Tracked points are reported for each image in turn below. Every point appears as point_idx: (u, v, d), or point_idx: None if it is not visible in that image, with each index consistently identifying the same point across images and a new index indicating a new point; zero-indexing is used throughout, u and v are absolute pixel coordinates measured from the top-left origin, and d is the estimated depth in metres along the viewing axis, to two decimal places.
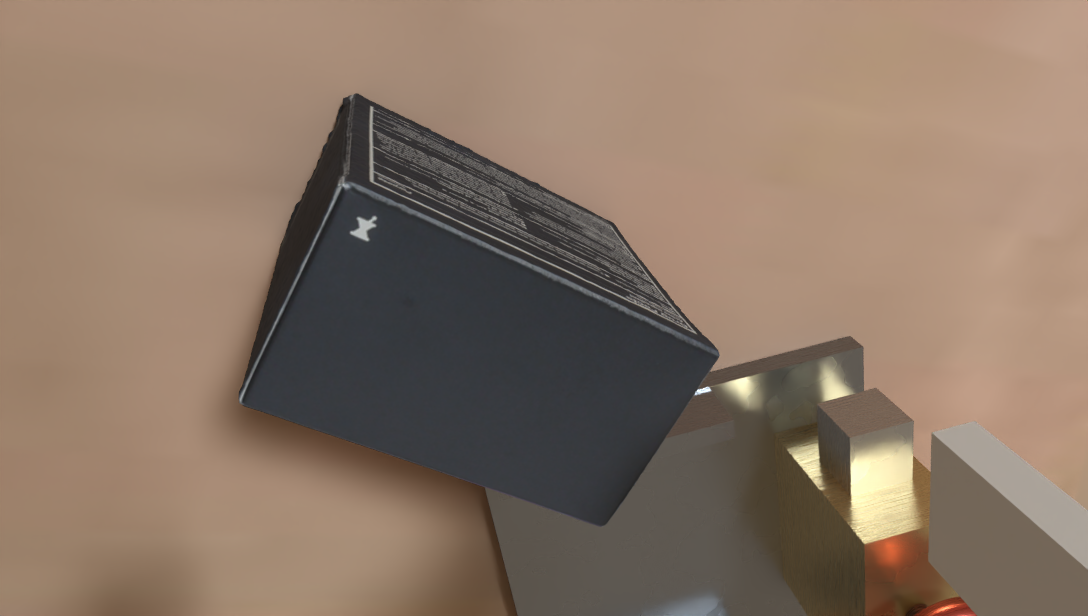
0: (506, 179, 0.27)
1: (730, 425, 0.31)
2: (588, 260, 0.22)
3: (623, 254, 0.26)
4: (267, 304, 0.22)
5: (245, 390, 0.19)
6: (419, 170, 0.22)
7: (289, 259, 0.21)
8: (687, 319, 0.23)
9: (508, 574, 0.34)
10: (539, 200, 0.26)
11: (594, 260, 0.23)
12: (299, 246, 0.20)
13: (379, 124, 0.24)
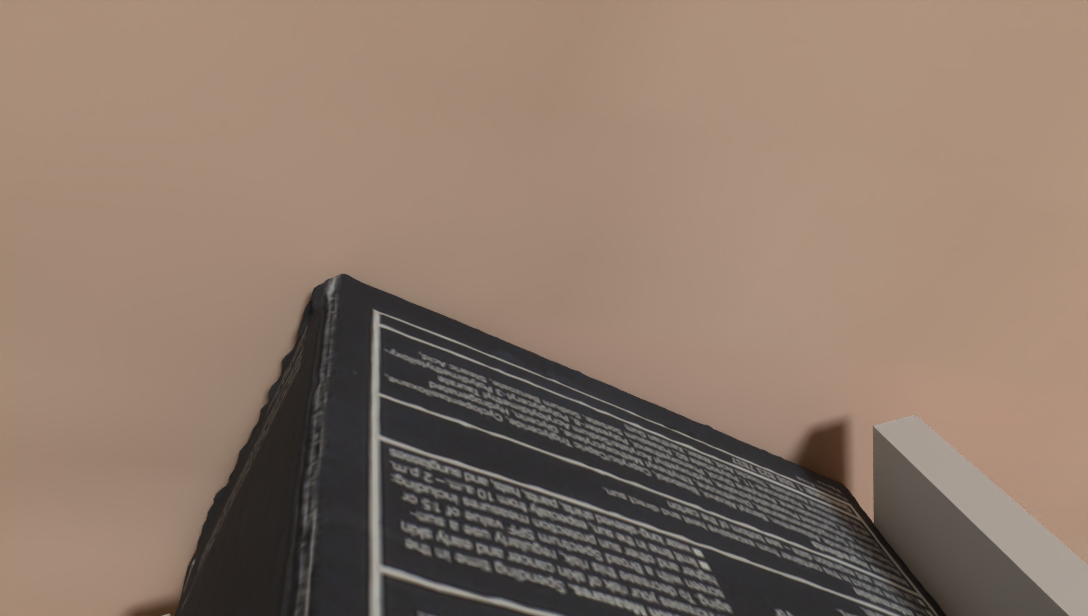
0: (672, 462, 0.12)
1: None
2: None
3: None
4: None
5: None
6: None
7: None
8: None
9: None
10: (748, 514, 0.12)
11: None
12: None
13: (396, 390, 0.10)
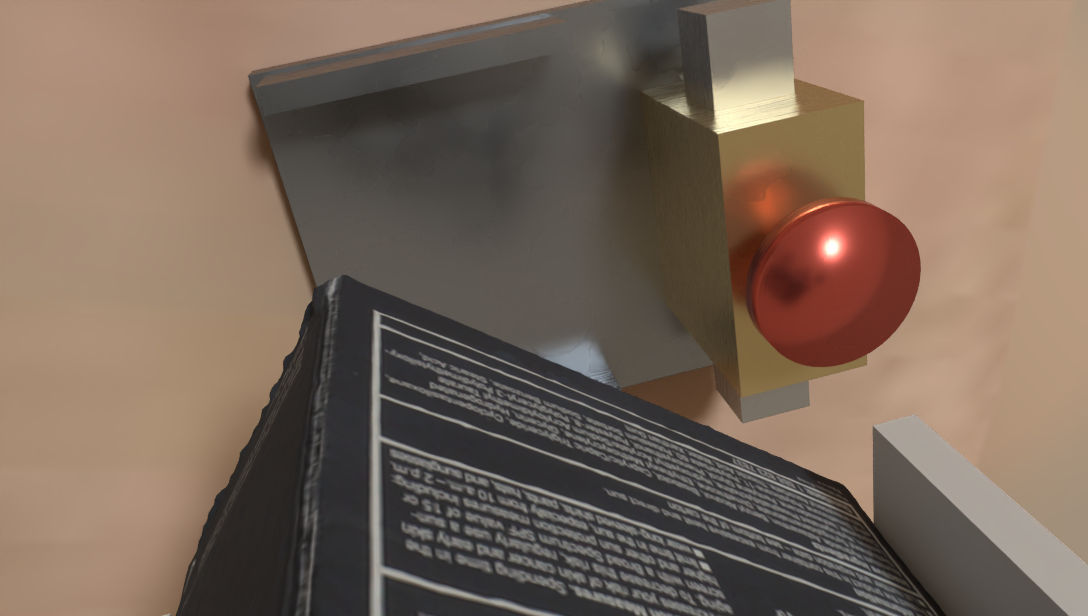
0: (673, 463, 0.12)
1: (563, 29, 0.24)
2: None
3: None
4: None
5: None
6: None
7: None
8: None
9: (312, 269, 0.28)
10: (749, 514, 0.12)
11: None
12: None
13: (396, 391, 0.10)
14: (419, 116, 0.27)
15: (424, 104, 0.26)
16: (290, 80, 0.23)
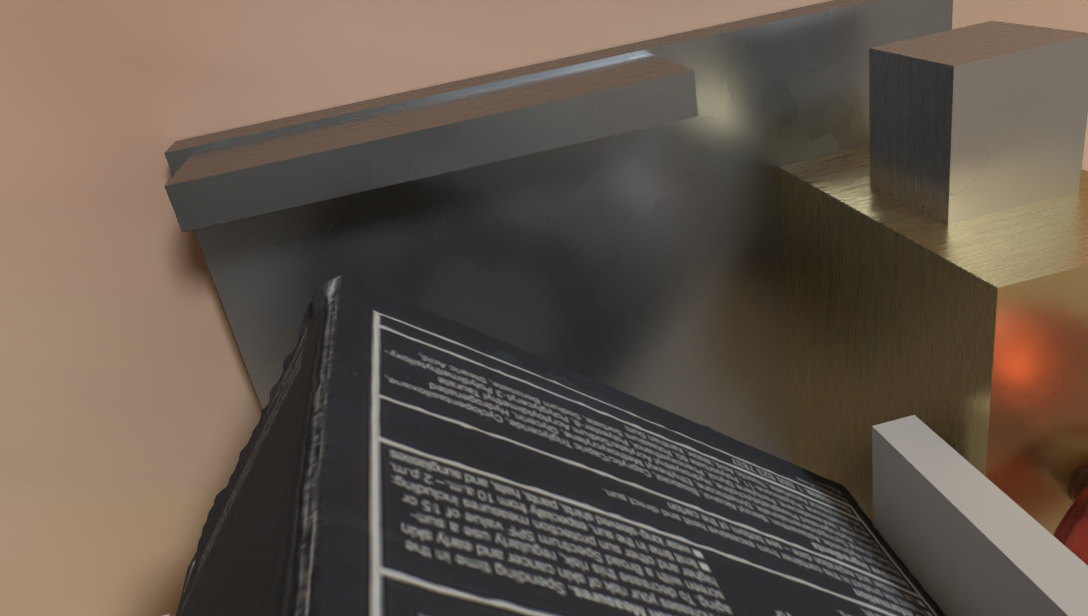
0: (672, 463, 0.12)
1: (686, 83, 0.14)
2: None
3: None
4: None
5: None
6: None
7: None
8: None
9: None
10: (748, 515, 0.12)
11: None
12: None
13: (395, 392, 0.10)
14: (440, 210, 0.17)
15: (448, 191, 0.17)
16: (226, 173, 0.14)
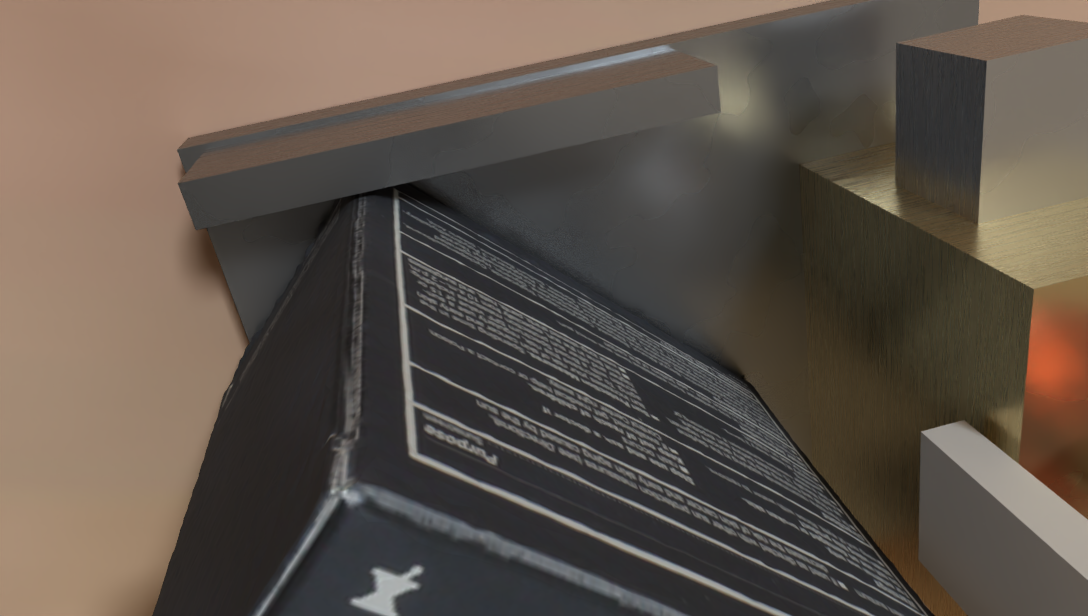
0: (612, 327, 0.16)
1: (709, 78, 0.14)
2: (799, 542, 0.12)
3: (805, 475, 0.15)
4: (167, 591, 0.11)
5: None
6: (493, 356, 0.11)
7: (213, 532, 0.10)
8: None
9: None
10: (666, 368, 0.16)
11: (803, 534, 0.12)
12: (231, 541, 0.09)
13: (411, 233, 0.13)
14: (456, 209, 0.17)
15: (464, 189, 0.16)
16: (240, 170, 0.13)
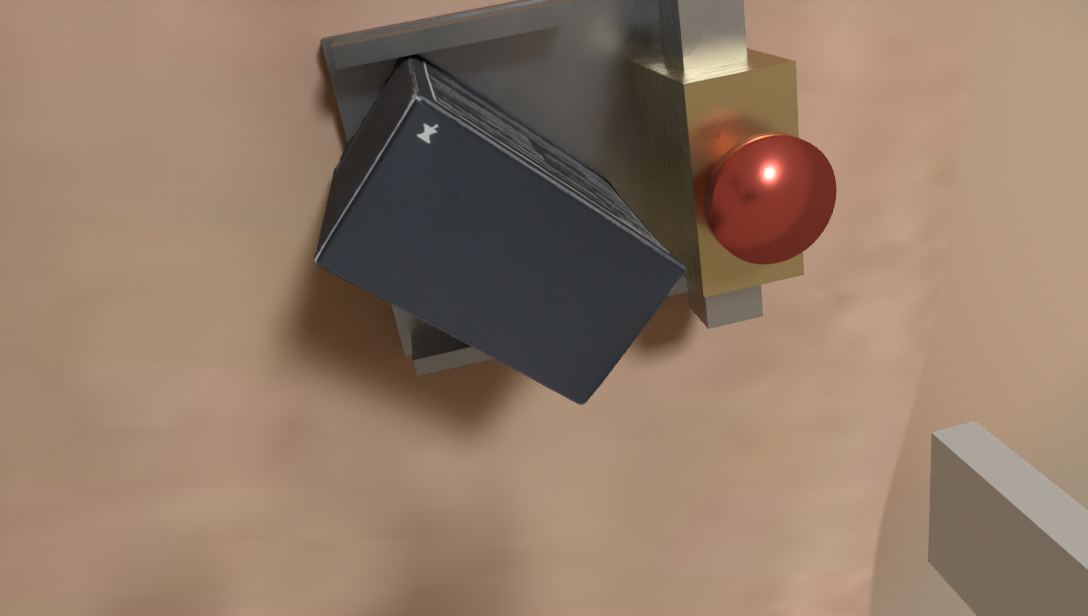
0: (527, 131, 0.33)
1: (568, 6, 0.31)
2: (590, 191, 0.28)
3: (617, 199, 0.32)
4: (333, 201, 0.28)
5: (320, 252, 0.25)
6: (464, 106, 0.28)
7: (357, 163, 0.27)
8: None
9: None
10: (552, 150, 0.32)
11: (594, 193, 0.29)
12: (370, 149, 0.26)
13: (431, 72, 0.30)
14: (453, 76, 0.33)
15: (456, 66, 0.33)
16: (357, 42, 0.30)
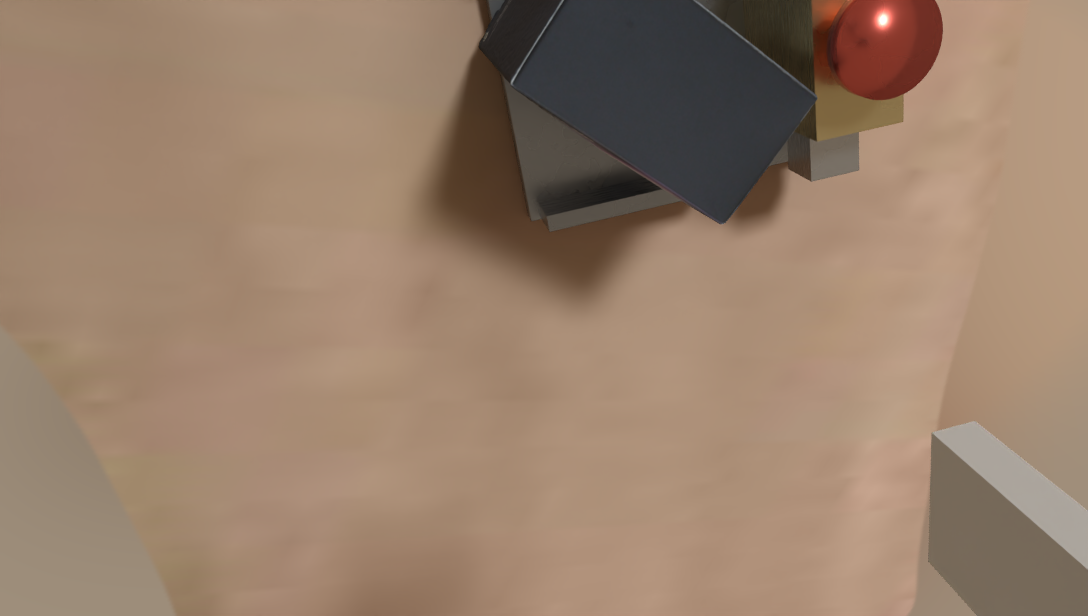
0: None
1: None
2: None
3: None
4: (507, 47, 0.32)
5: (516, 75, 0.29)
6: None
7: (533, 9, 0.31)
8: None
9: None
10: None
11: None
12: None
13: None
14: None
15: None
16: None
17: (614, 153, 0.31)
